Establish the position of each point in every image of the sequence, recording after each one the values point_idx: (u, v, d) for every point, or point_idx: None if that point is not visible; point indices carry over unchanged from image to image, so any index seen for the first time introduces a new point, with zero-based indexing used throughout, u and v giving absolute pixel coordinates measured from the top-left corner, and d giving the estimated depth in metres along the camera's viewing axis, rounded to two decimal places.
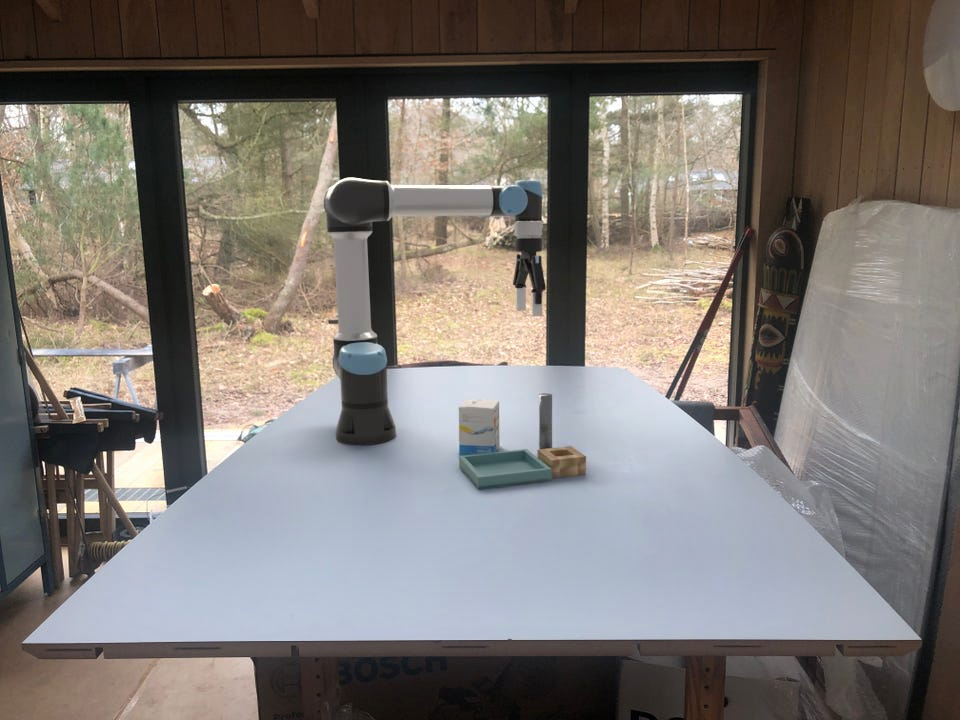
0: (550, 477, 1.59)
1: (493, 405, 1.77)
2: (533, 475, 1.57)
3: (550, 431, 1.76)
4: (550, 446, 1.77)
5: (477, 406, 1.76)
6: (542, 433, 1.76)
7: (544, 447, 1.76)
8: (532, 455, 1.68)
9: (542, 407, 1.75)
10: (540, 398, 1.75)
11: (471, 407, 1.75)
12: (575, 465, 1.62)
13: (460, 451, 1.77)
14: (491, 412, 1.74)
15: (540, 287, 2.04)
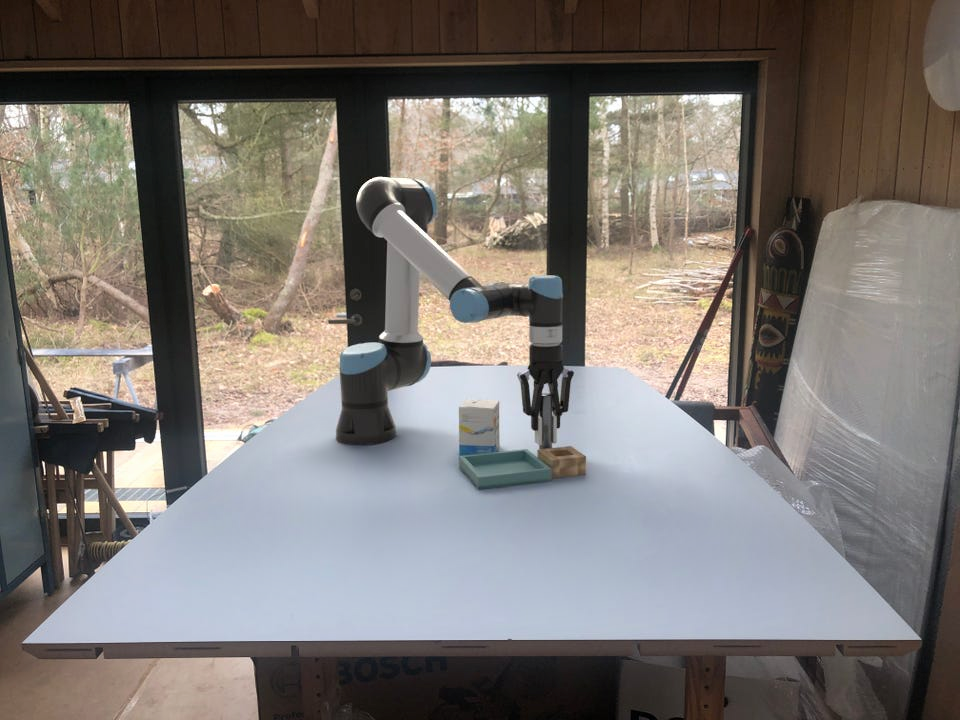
0: (550, 477, 1.59)
1: (493, 405, 1.77)
2: (533, 475, 1.57)
3: (550, 431, 1.76)
4: (550, 446, 1.77)
5: (477, 406, 1.76)
6: (542, 433, 1.76)
7: (544, 447, 1.76)
8: (532, 455, 1.68)
9: (542, 407, 1.75)
10: None
11: (471, 407, 1.75)
12: (575, 465, 1.62)
13: (460, 451, 1.77)
14: (491, 412, 1.74)
15: (524, 411, 1.75)
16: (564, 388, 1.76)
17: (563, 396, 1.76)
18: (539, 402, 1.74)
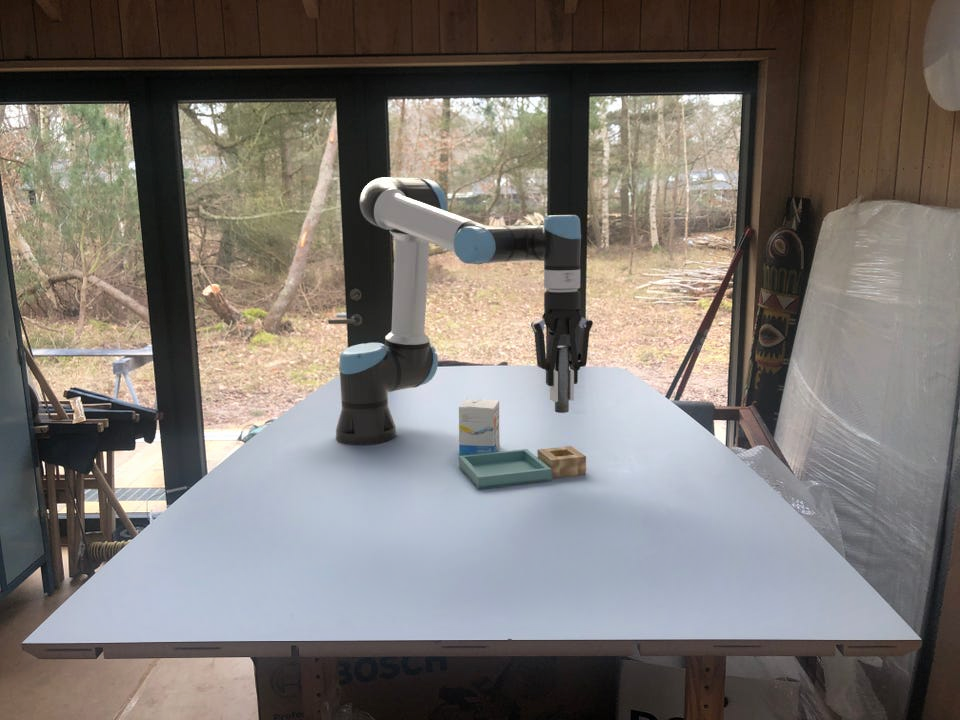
0: (550, 477, 1.59)
1: (493, 405, 1.77)
2: (533, 475, 1.57)
3: (567, 387, 1.61)
4: (567, 403, 1.62)
5: (477, 406, 1.76)
6: (558, 389, 1.61)
7: (560, 404, 1.61)
8: (532, 455, 1.68)
9: (558, 360, 1.60)
10: None
11: (471, 407, 1.75)
12: (575, 465, 1.62)
13: (460, 451, 1.77)
14: (491, 412, 1.74)
15: (539, 365, 1.60)
16: (582, 339, 1.61)
17: (581, 348, 1.61)
18: (555, 354, 1.59)
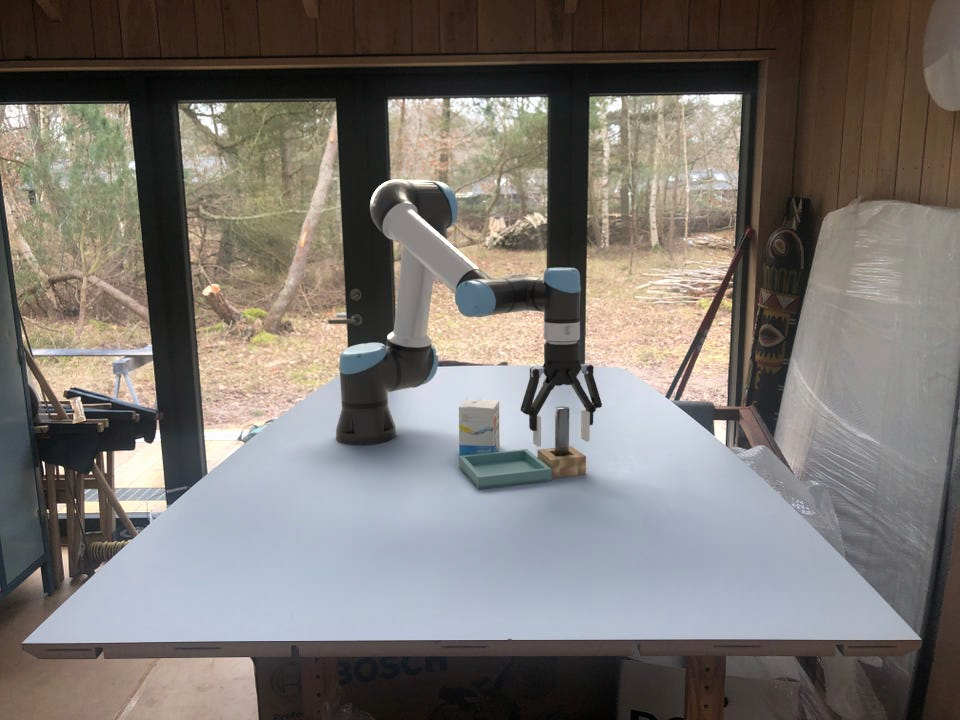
0: (550, 477, 1.59)
1: (493, 405, 1.77)
2: (533, 475, 1.57)
3: (567, 447, 1.63)
4: None
5: (477, 406, 1.76)
6: (558, 450, 1.63)
7: None
8: (532, 455, 1.68)
9: (558, 421, 1.62)
10: (556, 412, 1.62)
11: (471, 407, 1.75)
12: (575, 465, 1.62)
13: (460, 451, 1.77)
14: (491, 412, 1.74)
15: (522, 409, 1.60)
16: (590, 384, 1.63)
17: (591, 393, 1.64)
18: (543, 402, 1.60)
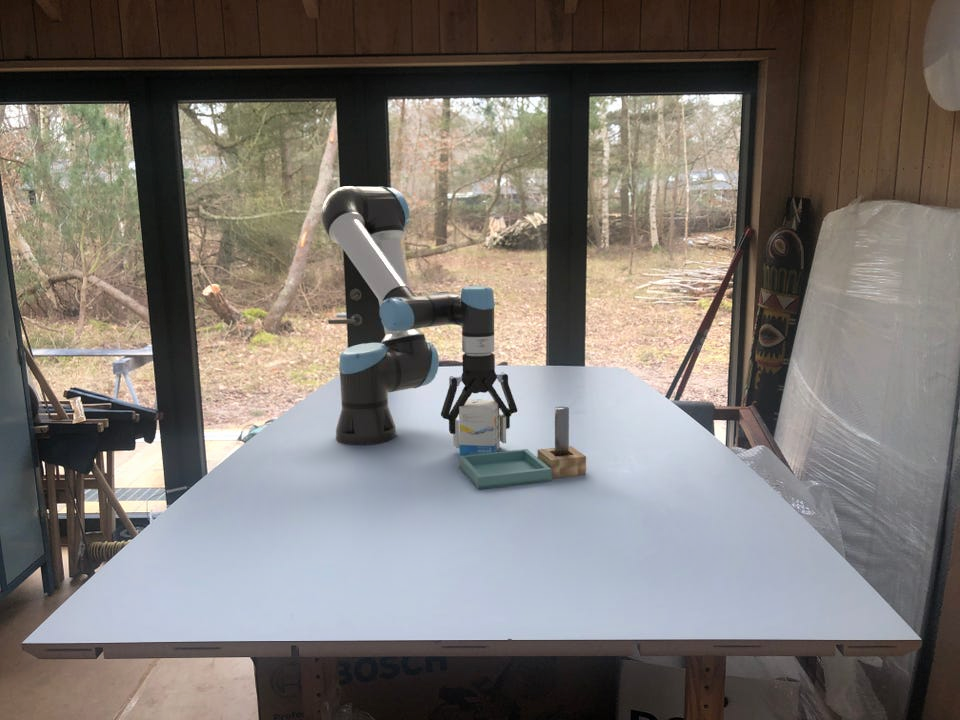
0: (550, 477, 1.59)
1: (493, 405, 1.77)
2: (533, 475, 1.57)
3: (567, 447, 1.63)
4: None
5: (477, 406, 1.76)
6: (558, 450, 1.63)
7: None
8: (532, 455, 1.68)
9: (558, 421, 1.62)
10: (556, 412, 1.62)
11: (471, 407, 1.75)
12: (575, 465, 1.62)
13: (460, 451, 1.77)
14: (491, 412, 1.74)
15: (442, 414, 1.77)
16: (505, 392, 1.79)
17: (507, 399, 1.80)
18: None
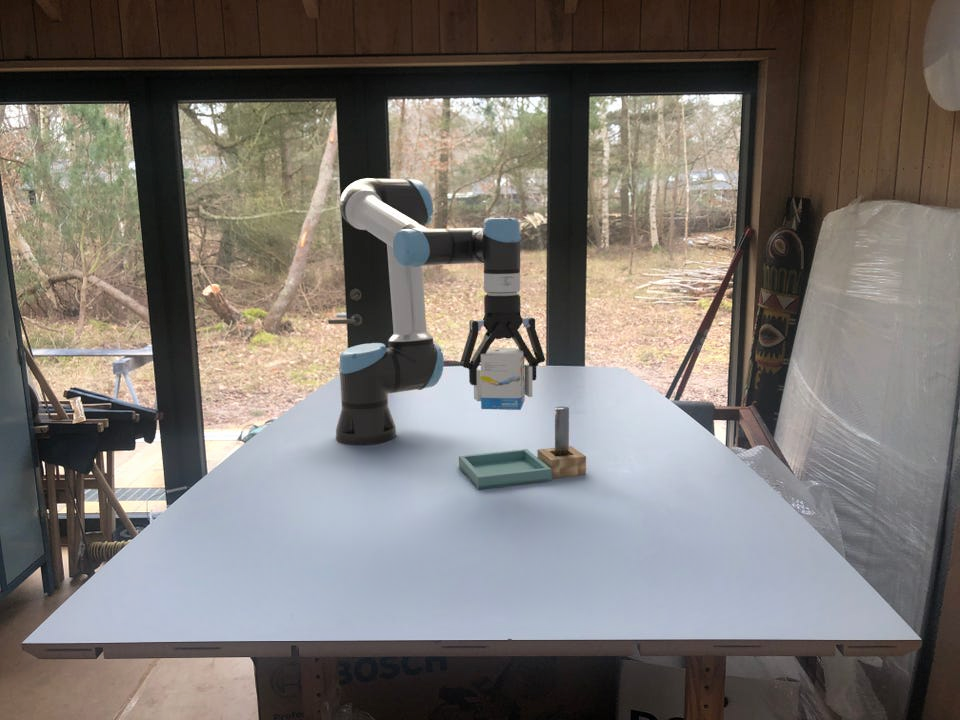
0: (550, 477, 1.59)
1: (519, 352, 1.57)
2: (533, 475, 1.57)
3: (567, 447, 1.63)
4: None
5: (501, 353, 1.56)
6: (558, 450, 1.63)
7: None
8: (532, 455, 1.68)
9: (558, 421, 1.62)
10: (556, 412, 1.62)
11: (495, 354, 1.55)
12: (575, 465, 1.62)
13: (482, 405, 1.57)
14: (517, 359, 1.54)
15: (461, 363, 1.57)
16: (532, 338, 1.59)
17: (534, 347, 1.60)
18: None
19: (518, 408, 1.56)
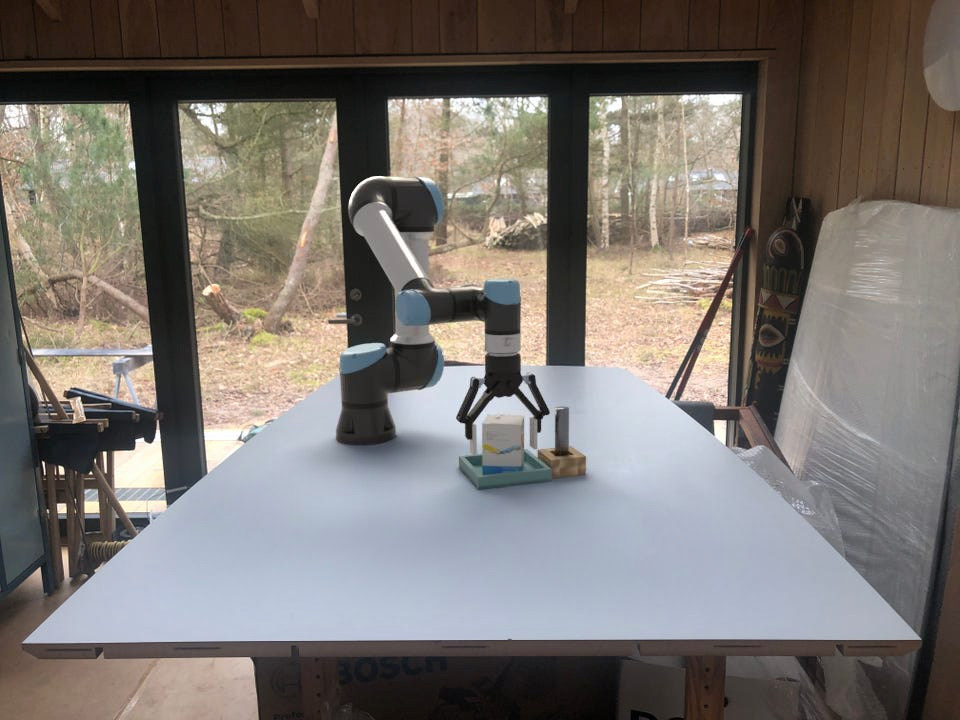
0: (550, 477, 1.59)
1: (519, 421, 1.60)
2: (533, 475, 1.57)
3: (567, 447, 1.63)
4: None
5: (502, 422, 1.58)
6: (558, 450, 1.63)
7: None
8: (532, 455, 1.68)
9: (558, 421, 1.62)
10: (556, 412, 1.62)
11: (496, 424, 1.58)
12: (575, 465, 1.62)
13: (483, 472, 1.60)
14: (518, 429, 1.57)
15: (457, 417, 1.59)
16: (534, 393, 1.62)
17: (537, 401, 1.63)
18: (479, 412, 1.58)
19: None
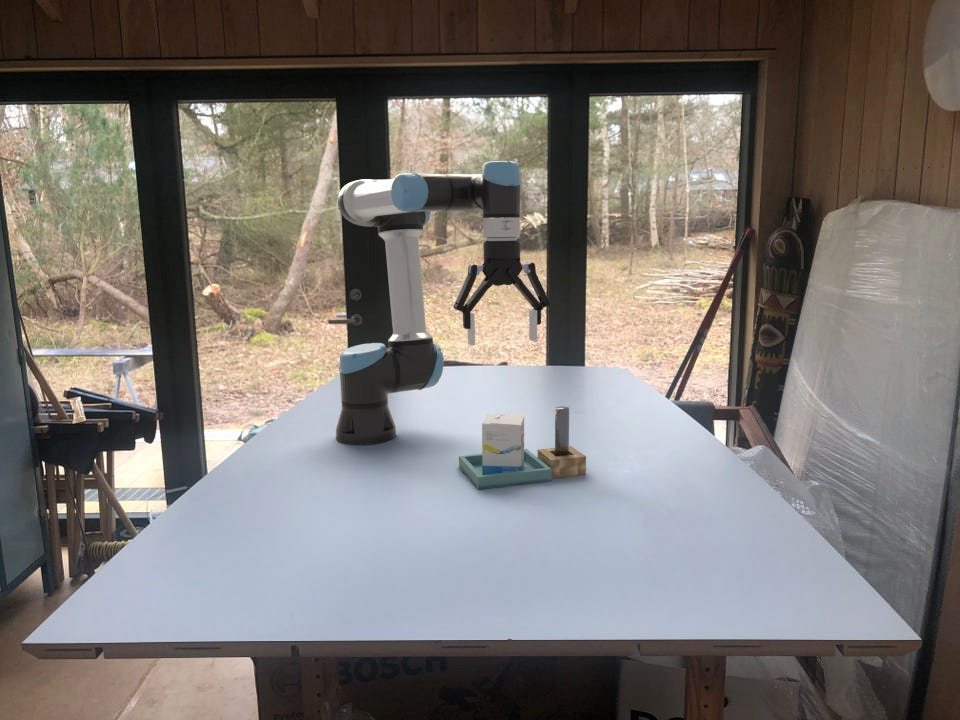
0: (550, 477, 1.59)
1: (519, 421, 1.60)
2: (533, 475, 1.57)
3: (567, 447, 1.63)
4: None
5: (502, 422, 1.58)
6: (558, 450, 1.63)
7: None
8: (532, 455, 1.68)
9: (558, 421, 1.62)
10: (556, 412, 1.62)
11: (496, 424, 1.58)
12: (575, 465, 1.62)
13: (483, 472, 1.60)
14: (518, 429, 1.57)
15: (455, 305, 1.54)
16: (534, 283, 1.57)
17: (537, 292, 1.58)
18: (478, 299, 1.54)
19: None
